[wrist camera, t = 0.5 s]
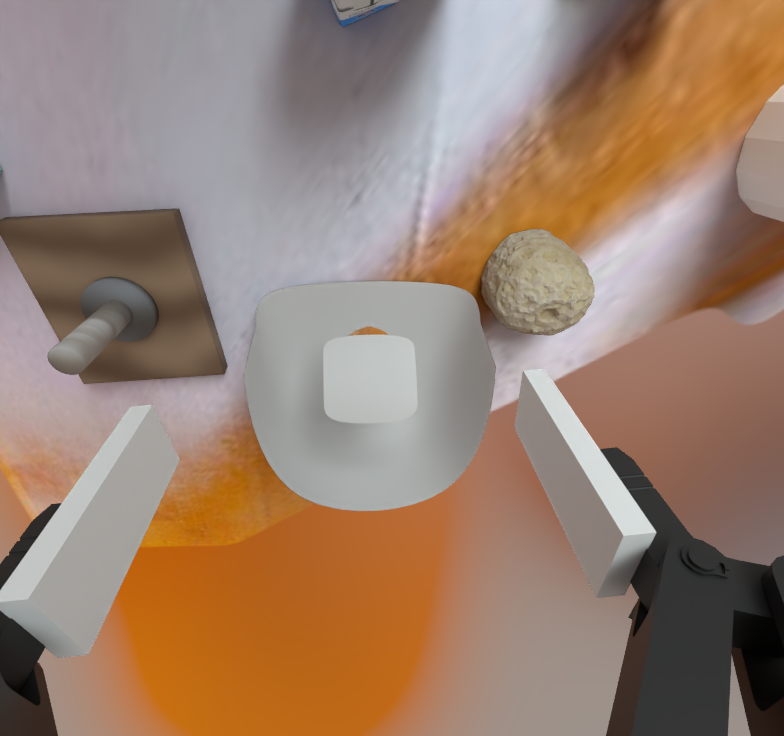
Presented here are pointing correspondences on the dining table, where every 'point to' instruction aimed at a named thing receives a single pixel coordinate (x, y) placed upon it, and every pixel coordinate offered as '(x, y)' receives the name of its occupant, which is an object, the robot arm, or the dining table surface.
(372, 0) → the ink box
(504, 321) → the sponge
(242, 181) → the dining table surface
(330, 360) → the bowl
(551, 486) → the robot arm
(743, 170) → the container
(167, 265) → the shaft board
